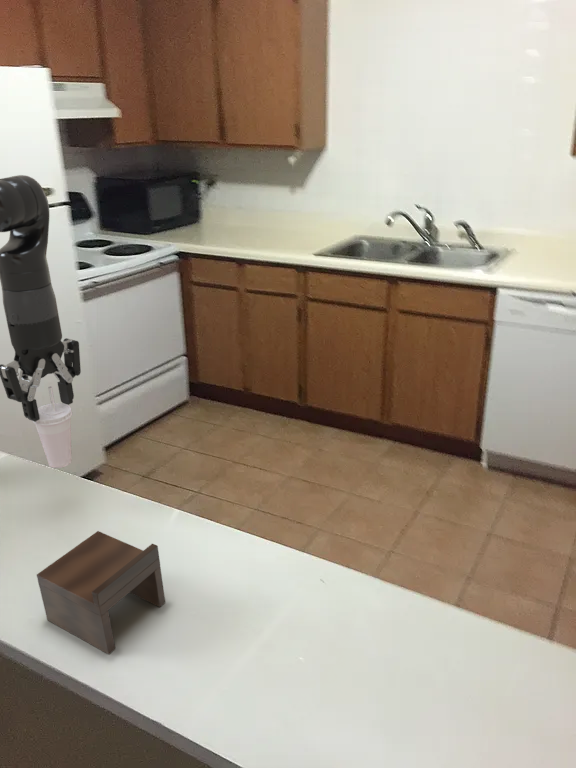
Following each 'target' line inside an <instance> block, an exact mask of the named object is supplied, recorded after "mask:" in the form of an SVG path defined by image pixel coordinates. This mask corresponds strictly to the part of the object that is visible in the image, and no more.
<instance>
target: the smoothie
mask: <svg viewBox="0 0 576 768" xmlns="http://www.w3.org/2000/svg"><path fill="white" fill-rule="evenodd" d="M47 389H48V394H49V400H50V403H47V404H43V405H40V406H37V407H38V412H39V417H40V419H39V420H38V421H36V422H34V421H32V420H31V422H32V423H33V424H34V426H35V429H36V431H37V434H38V437H39V440H40V443H41V446H42V449H43V451H44V454H45V457H46V461H47V463H48V466H49V467H50V468H53V469H61V468H64V467H67V466H69V465H71V463H72V461H73V460H72V459H73V457H72V420H71V419H72V418H71V417H72V416H73V411H72V407H71V406H70V404H69V405H67V404H64V403H62V402H55V397H54V392H53V386H48V388H47Z"/></svg>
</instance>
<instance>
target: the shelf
mask: <svg viewBox="0 0 576 768" xmlns="http://www.w3.org/2000/svg"><path fill="white" fill-rule="evenodd" d="M160 559H161V558H160V553H159V546H158V545H157V544H154V543H151V544H150V545H148V546H147V547H146V548H145V549H141V548H138V547H136V546H133V545H131V544H129V543H127V542H124V541H122V540H121V539H118V538H116V537H113V536H111V535H108V534H107V533H104V532H101V531H99V530H97V531H96V532H94V533H93V534H91V535H90V536H89V537H87V538H85V540H83V541H82V542H80V543H79V544H77V545H76V546H74V547H73V548H71V549H70V550H69V551H67V552H66V553H65V554H63V555H62V556H60V557H59V558H57V559H56V560H55V561H54V562H52V563H50V564H49V565H48V566H47V567H45V568H43V569H42V570H41V571H40V572H38V573H36V578H37V582H38V587H39V591H40V595H41V596H40V597H41V599H42V604H43V609H44V612H45V617H46V620H47V621H48V622H50V623H52V624H54V625H55V626H57V627H59V628H61V629H63V630H64V631H66V632H68V633H70V634H71V635H73V636H75V637H77V638H79V639H80V640H82V641H84V642H86V643H88V644H90V645H91V646H93V647H94V648H97V649H99V650H100V651H102V652H103V653H106V654H107V655H110V654H111V653H112V652H113V651H114V650H115V649H116V645H115V639H114V635H113V628H112V623H111V618H110V612H109V610H110V609H112V608H113V607H114V606H115V605H116V604H117V603H119V602H120V601H121V600H122V599H123V598H125V597H126V596H127V595H128V594H132V595H134V596H136V597H138V598H140V599H141V600H143V601H146V602H149V603H150V604H152V605H154V606H156V607H158V608H161V607H162V606H163V605H164V604H165V603H166V596H165V588H164V583H163V576H162V569H161V560H160Z"/></svg>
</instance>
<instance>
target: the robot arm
mask: <svg viewBox="0 0 576 768" xmlns="http://www.w3.org/2000/svg"><path fill="white" fill-rule="evenodd" d="M49 230H50V203H49V200H48V196H47V194H46V192H45V190H44V188H43V187H42V185H41V184H40V183H39V182H38V181H37V180H36V179H35V178H33V177H30V176H29V175H24V174H17V175H13V176H12V175H11V176H8V177H2V178H0V233H8V232H9V238H8V240H7V242H6V243H5V244H4V245H3V246H1V247H0V286H1V292H2V293H1V295H2V305H3V309H4V315H5V319H6V324H7V330H8V334H9V338H10V343H11V346H12V348H13V350H14V358H13V360H12V361H10V362H9V363H7V364H0V380H1V383H2V385H3V388H4V391H5V394H6V397H7V399H9V400H13V401H15V402H18V403H21V408H22V411H23V416H24V418H26V419H28V420H29V421H31V422H32V421H34V422H36V421H38V420H39V419H40V417H39V412H38V407H39V406H38V403H37V399H36V398H35V396H36V392H37V388H38V387H39V386H40V384H41V379H43V378H45V377H46V376H47V375H51V374H53V375H54V376H55V378H56V379H57V380H58V381H57V388H58V394H59V398H60V403H63V404H67V405H69V406H70V405H71V404H73V403H74V398H75V393H74V388H73V381H74V378H76V376H77V377H79V376H80V375H81V372H82V371H81V354H80V353H81V352H80V342H79V341H78V340H75V339H71V338H64V339H63V333H62V327H61V326H62V325H61V322H60V316H59V315H60V314H59V309H58V304H57V303H58V302H57V299H56V294H55V291H54V288H53V285H52V284H53V283H52V279H51V274H50V268H49V263H48V258H47V252H48V244H49ZM62 339H63V341H62ZM62 356H63V360H64V361H63V360H62ZM19 369H20V372H19ZM29 377H30V378H31V379H30V378H29Z"/></svg>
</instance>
